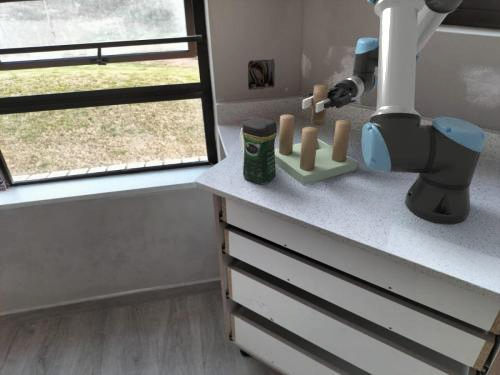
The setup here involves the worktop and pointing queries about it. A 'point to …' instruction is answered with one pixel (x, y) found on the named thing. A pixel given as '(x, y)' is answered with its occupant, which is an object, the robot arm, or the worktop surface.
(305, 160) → the upturned stool
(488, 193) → the worktop surface
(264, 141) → the coffee jar
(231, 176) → the worktop surface
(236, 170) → the worktop surface
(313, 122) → the walnut leg
